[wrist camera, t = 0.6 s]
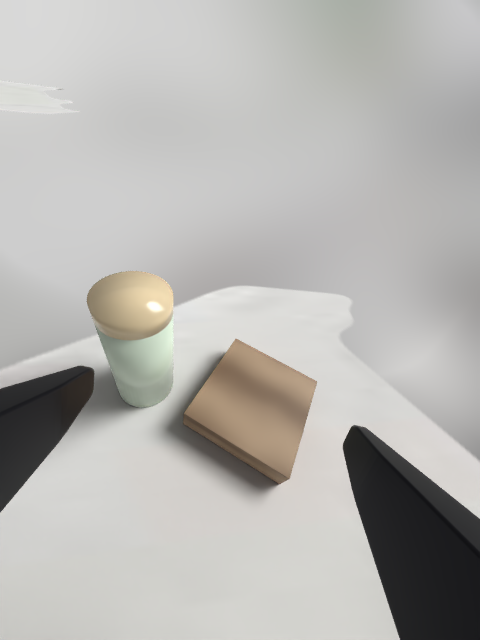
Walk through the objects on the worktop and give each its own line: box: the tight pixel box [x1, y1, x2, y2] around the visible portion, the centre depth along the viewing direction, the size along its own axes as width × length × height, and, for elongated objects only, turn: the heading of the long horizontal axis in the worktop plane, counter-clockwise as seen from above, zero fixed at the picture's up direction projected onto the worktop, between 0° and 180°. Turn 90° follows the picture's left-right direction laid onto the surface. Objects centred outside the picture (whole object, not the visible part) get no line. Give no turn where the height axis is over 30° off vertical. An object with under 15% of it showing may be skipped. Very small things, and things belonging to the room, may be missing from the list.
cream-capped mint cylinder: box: [87, 271, 173, 408], centre depth 20 cm, size 5×5×12 cm
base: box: [183, 339, 317, 484], centre depth 24 cm, size 10×10×2 cm
